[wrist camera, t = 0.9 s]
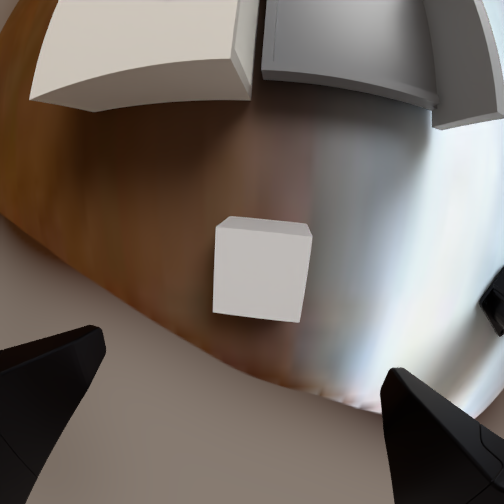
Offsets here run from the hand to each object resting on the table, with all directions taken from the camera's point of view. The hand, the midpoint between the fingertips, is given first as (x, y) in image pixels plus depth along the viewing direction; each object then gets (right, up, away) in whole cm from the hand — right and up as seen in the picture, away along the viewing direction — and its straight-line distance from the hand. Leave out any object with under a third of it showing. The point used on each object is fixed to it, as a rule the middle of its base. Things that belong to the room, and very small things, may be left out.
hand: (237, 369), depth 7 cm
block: (+1, +3, +11) cm, 12 cm away
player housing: (-5, +20, +7) cm, 22 cm away
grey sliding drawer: (+7, +19, +5) cm, 21 cm away
